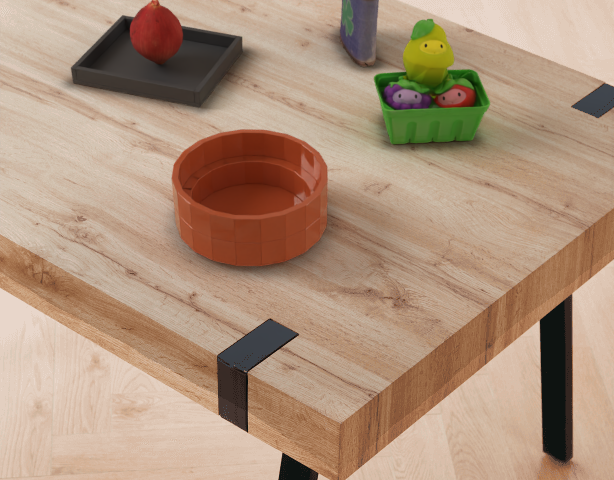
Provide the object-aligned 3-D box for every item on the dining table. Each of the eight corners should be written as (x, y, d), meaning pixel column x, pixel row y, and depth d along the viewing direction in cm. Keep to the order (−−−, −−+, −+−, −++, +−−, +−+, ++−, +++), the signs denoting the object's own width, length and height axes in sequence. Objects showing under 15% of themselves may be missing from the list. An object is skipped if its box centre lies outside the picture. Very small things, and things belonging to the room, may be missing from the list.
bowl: (152, 252, 99) (146, 200, 95) (210, 168, 109) (207, 118, 105) (299, 285, 97) (299, 232, 93) (344, 195, 107) (346, 145, 103)
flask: (378, 66, 126) (383, -20, 119) (354, 69, 126) (357, -18, 118) (357, 29, 133) (360, -55, 126) (334, 31, 132) (336, -53, 125)
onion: (126, 72, 121) (118, 7, 116) (143, 48, 126) (136, -16, 120) (176, 79, 121) (170, 13, 116) (191, 54, 125) (186, -10, 120)
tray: (72, 83, 120) (70, 67, 119) (124, 29, 130) (122, 14, 128) (200, 108, 118) (199, 92, 116) (242, 51, 127) (242, 36, 126)
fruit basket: (381, 152, 113) (387, 56, 105) (368, 107, 119) (373, 13, 112) (486, 147, 115) (499, 52, 107) (468, 103, 121) (480, 10, 114)
